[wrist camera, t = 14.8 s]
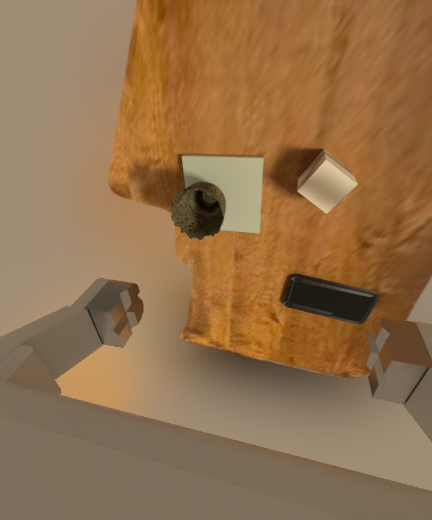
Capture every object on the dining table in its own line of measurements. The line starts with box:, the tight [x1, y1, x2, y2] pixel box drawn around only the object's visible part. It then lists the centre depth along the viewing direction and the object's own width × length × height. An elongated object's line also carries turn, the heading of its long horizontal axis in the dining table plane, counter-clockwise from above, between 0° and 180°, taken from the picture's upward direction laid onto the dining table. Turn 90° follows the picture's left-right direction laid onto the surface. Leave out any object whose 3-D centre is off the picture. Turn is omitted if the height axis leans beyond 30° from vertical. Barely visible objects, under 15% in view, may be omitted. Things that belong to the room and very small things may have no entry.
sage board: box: [182, 154, 264, 233], centre depth 44 cm, size 12×12×1 cm
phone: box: [283, 274, 379, 324], centre depth 51 cm, size 8×1×15 cm
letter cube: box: [297, 149, 357, 213], centre depth 37 cm, size 5×5×5 cm
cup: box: [170, 182, 226, 240], centre depth 41 cm, size 8×7×8 cm
